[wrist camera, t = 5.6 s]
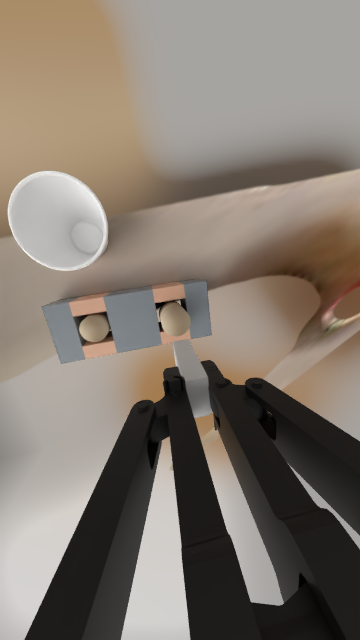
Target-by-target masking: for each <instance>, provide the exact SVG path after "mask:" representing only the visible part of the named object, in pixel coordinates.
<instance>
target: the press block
mask: <svg viewBox="0 0 360 640" xmlns="http://www.w3.org/2000/svg"><path fill="white" fill-rule="evenodd" d="M177 299H180V301H181V306H182V307H183V309H184V310H185V311H186V312H187V313H188V314H189V316H190V320H191V324H190V327H189V329H188V331H187V332H186V333H185V334H183V335H181V336H171V335H168V334H167V333H166V332H165V331H164V329H163V327H162V323H161V322H158V319H157V313H156V307H155V303H158V302H165V301H171V300H177ZM42 309H43V312H44V315H45V318H46V321H47V324H48V326H49V329H50V332H51V335H52V338H53V341H54V344H55V347H56V350H57V353H58V356H59V359H60V362H61V364H62V363H68V362H73V361H78V360H83V359H89V358H94V357H99V356H105V355H110V354H115V353H120V352H125V351H131V350H136V349H141V348H146V347H151V346H157V345H162V344H168V343H172V342H174V341H180V340H185V339H194V338H199V337H204V336H209V335H212V333H211V323H210V313H209V302H208V292H207V281H204V280H200V279H192V280H186V281H179V282H173V283H166V284H160V285H153V286H147V287H140V288H134V289H127V290H121V291H114V292H108V293H101V294H95V295H88V296H82V297H75V298H69V299H62V300H58V301H55V302H53V303H50V304H48V305H45V306H42ZM104 311H107V315H108V319H109V323H110V327H111V331H109V332H108V334H107V335H106V337H105V338H104V339H103V340H101V341H99V342H90V341H87V340H86V339H84V338H83V337H82V335H81V334H80V331H79V327H80V324H81V322H82V321H83V320H84V319H85V318H86V317H87V314H92V313H98V312H104Z"/></svg>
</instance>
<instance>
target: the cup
mask: <svg viewBox="0 0 360 640" xmlns="http://www.w3.org/2000/svg"><path fill="white" fill-rule="evenodd" d="M8 220H9V225H10V228H11V231H12V234H13V236H14V238H15V239H16V241H17V243H18V244H19V246H20V247H21V248H22V249H23V250H24V252H25V253H26V254H27V255H29V256H30V257H31V258H32V259H33V260H35V261H37V262H38V263H40V264H41V265H43V266H46V267H48V268H51V269H55V270H60V271H73V270H79V269H82V268H84V267H87V266H88V265H90V264H92V263H93V262H94V261H95V260H96V259H97V258H98V257H99V256H100V255H101V254H102V253H103V252H104V251H105V249H106V247H107V245H108V221H107V217H106V213H105V211H104V208H103V206H102V204H101V202H100V201H99V199H98V198H97V196H96V195H95V194H94V193H93V191H92V190H91V189H90V188H89V187H88V186H87V185H85V184H84V183H83V182H81V181H80V180H79V179H77V178H75V177H73V176H71V175H69V174H65V173H62V172H58V171H41V172H36V173H34V174H31V175H29V176H27V177H26V178H24V179H23V180H21V181H20V182H19V183H18V185H17V186H16V187H15V188H14V190H13V192H12V194H11V196H10V200H9V204H8Z"/></svg>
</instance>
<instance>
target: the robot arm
mask: <svg viewBox="0 0 360 640" xmlns="http://www.w3.org/2000/svg"><path fill="white" fill-rule="evenodd" d="M172 343H173V349H174V356H175V363H176V367H172V368H166V369H165V370H164V372H163V375H164V381H163V385H164V391H165V396H164V397H163V398H162V399H161V400H160V401H158V402H156V403H153V401H151V400H142V401H139V402H137V403H136V404H135V405H134V406H133V407H132V409H131V411H130V414H129V415H128V418H127V420H126V422H125V424H124V426H123V428H122V430H121V433H120V435H119V437H118V439H117V441H116V443H115V446H114V448H113V450H112V452H111V454H110V457H109V459H108V461H107V463H106V465H105V467H104V469H103V472H102V474H101V476H100V478H99V480H98V482H97V484H96V487H95V489H94V491H93V493H92V495H91V497H90V500H89V502H88V504H87V506H86V508H85V510H84V513H83V515H82V517H81V519H80V521H79V523H78V526H77V528H76V530H75V532H74V534H73V536H72V538H71V540H70V543H69V545H68V547H67V549H66V551H65V553H64V556H63V558H62V560H61V562H60V564H59V566H58V569H57V571H56V573H55V575H54V577H53V579H52V582H51V584H50V586H49V588H48V590H47V592H46V594H45V597H44V599H43V601H42V603H41V605H40V607H39V609H38V612H37V614H36V616H35V619H34V620H33V622H32V625H31V627H30V629H29V631H28V633H27V636H26V638H25V640H121V635H122V630H123V625H124V621H125V615H126V611H127V606H128V602H129V597H130V592H131V587H132V582H133V577H134V573H135V568H136V564H137V559H138V553H139V549H140V544H141V539H142V535H143V530H144V525H145V521H146V516H147V511H148V506H149V502H150V497H151V492H152V487H153V482H154V478H155V473H156V468H157V464H158V459H159V454H160V449H161V443H162V440H163V439H165V438H167V437H169V436H170V443H171V453H172V461H173V471H174V479H175V489H176V497H177V507H178V516H179V525H180V534H181V543H182V549H181V550H182V563H183V573H184V582H185V591H186V600H187V609H188V620H189V629H190V638H191V640H360V550H359V548H358V547H357V545H356V544H355V542H354V541H353V540H352V538H351V537H350V536H349V534H348V533H347V532H346V530H345V529H344V528H343V526H342V525H341V524H340V522H339V521H338V520H337V518H336V517H335V516H334V515H333V514H332V513H331V512H330V511H329V510H327V509H324V508H320V507H318V506H317V505H316V503H314V501H313V500H312V498H311V497H310V495H309V494H308V492H307V491H306V489H305V488H304V487H303V485H302V484H301V482H300V481H299V479H298V478H297V477H296V475H295V474H294V472H293V471H292V469H291V468H290V466H291V467H292V468H294V470H295V471H296V472H297V473H298V474H299V475H300V476H301V477H302V478H303V479H304V480H305V481H306V482H307V483H308V484H310V486H311V487H312V488H313V489H314V490H315V491H316V492H317V493H318V494H319V495H320V496H321V497H322V498H323V499H324V500H325V501H326V502H327V503H328V504H329V505H330V506H331V507H332V508H333V509H334V510H335V511H336V512H337V513H338V514H339V515H340V516H341V517H342V518H343V519H344V520H345V521H346V522H347V523H348V524H349V525H350V526H351V527H352V528H353V529H354V530H355V531H356V532H357V533H358V534H359V535H360V441H358V440H357V439H355V438H354V437H352V436H351V435H349V434H348V433H346V432H344V431H343V430H341V429H340V428H338V427H337V426H335V425H334V424H332V423H330V422H329V421H327V420H326V419H324V418H323V417H321V416H320V415H318V414H317V413H315V412H313V411H312V410H310V409H309V408H307V407H306V406H304V405H303V404H301V403H299V402H298V401H296V400H295V399H293V398H292V397H290V396H289V395H287V394H285V393H284V392H282V391H281V390H279V389H278V388H276V387H275V386H273V385H272V384H270V383H268V382H267V381H265V380H263V379H261V378H249V379H248V380H246V382H245V385H235V384H232V382H231V381H230V380H228V379H226V378H224V377H223V375H222V374H221V372H220V371H219V370H218V368H217V366H216V365H215V363H214V362H212V361H211V360H207V361H202V362H200V361H199V359H198V357H197V355H196V353H195V351H194V349H193V347H192V345H191V344H190V341H189V339H185V340H180V341H174V342H172ZM211 409H212V411H213V416H214V425H215V430H217V429H218V431H219V434H220V436H221V439H222V441H223V444H224V446H225V449H226V451H227V453H228V456H229V458H230V461H231V463H232V466H233V468H234V470H235V473H236V476H237V478H238V481H239V483H240V485H241V488H242V490H243V493H244V495H245V498H246V500H247V503H248V505H249V508H250V510H251V513H252V515H253V518H254V520H255V522H256V525H257V528H258V530H259V533H260V535H261V538H262V540H263V542H264V545H265V547H266V550H267V552H268V555H269V557H270V560H271V562H272V565H273V567H274V570H275V573H276V576H277V579H278V583H279V587H280V591H281V595H282V598H283V601H284V604H283V605H280V606H276V605H268V604H260V603H252V602H250V598H249V595H248V592H247V588H246V585H245V581H244V578H243V575H242V572H241V568H240V565H239V561H238V558H237V555H236V551H235V548H234V545H233V542H232V539H231V537H230V535H229V534H228V532H227V530H226V526H225V523H224V519H223V516H222V513H221V509H220V506H219V502H218V499H217V495H216V492H215V488H214V485H213V481H212V478H211V474H210V471H209V468H208V464H207V460H206V457H205V454H204V450H203V446H202V443H201V439H200V436H199V433H198V429H197V426H196V422H195V419H194V418H197V417H202V416H206V415H211V414H212V412H211ZM269 412H270V413H271V414H272V415H271V414H270V413H269ZM288 464H289V465H290V466H289V465H288Z"/></svg>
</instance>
